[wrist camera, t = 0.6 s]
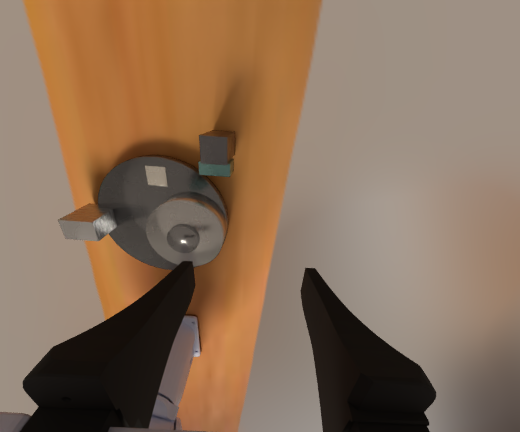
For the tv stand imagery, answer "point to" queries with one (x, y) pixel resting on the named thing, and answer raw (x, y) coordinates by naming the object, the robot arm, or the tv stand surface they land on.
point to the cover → (187, 228)
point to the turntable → (137, 204)
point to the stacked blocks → (217, 153)
